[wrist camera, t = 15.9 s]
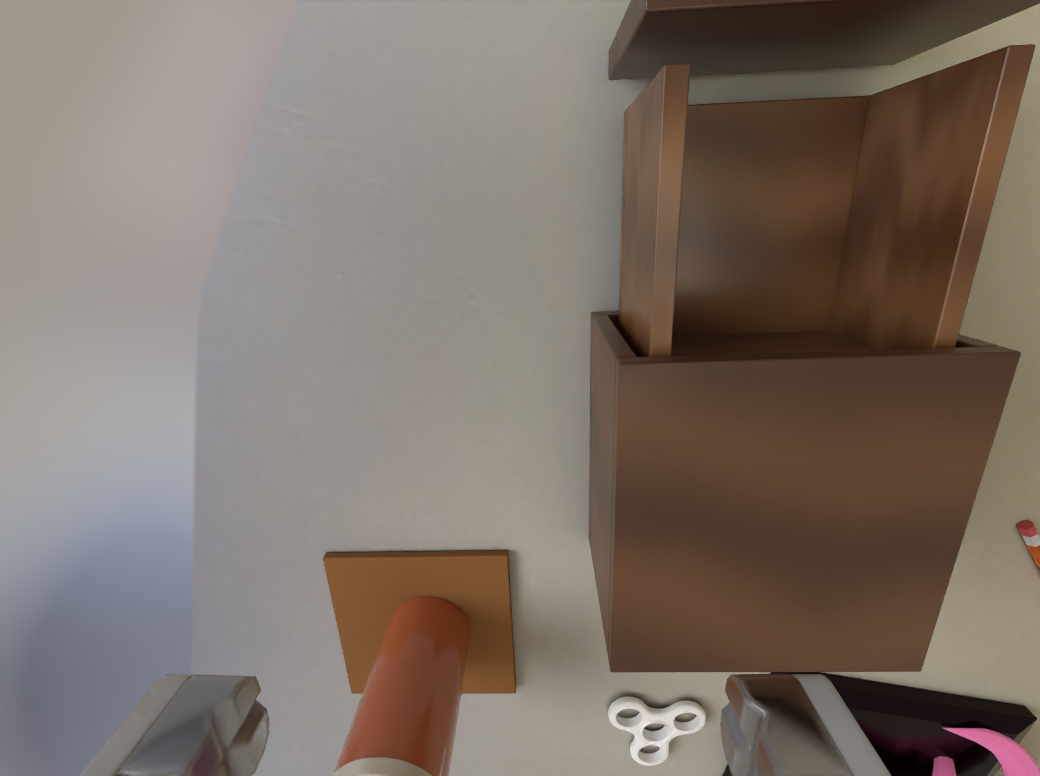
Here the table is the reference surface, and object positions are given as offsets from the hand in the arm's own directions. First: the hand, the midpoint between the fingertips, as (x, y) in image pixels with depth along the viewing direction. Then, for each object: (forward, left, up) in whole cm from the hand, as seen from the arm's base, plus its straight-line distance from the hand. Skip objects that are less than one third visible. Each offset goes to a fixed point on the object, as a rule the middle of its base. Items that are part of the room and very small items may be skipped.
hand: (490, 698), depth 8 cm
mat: (-7, -19, -20) cm, 28 cm away
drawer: (+11, +10, -19) cm, 24 cm away
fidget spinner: (+9, -28, -20) cm, 36 cm away
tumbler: (-7, -18, -19) cm, 28 cm away
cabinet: (+11, -5, -20) cm, 23 cm away
